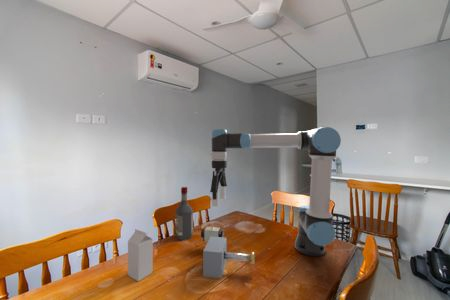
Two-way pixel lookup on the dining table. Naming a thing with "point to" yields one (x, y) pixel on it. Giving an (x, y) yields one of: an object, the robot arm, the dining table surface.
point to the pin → (240, 256)
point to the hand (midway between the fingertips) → (219, 202)
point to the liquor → (184, 218)
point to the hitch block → (214, 257)
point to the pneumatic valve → (211, 233)
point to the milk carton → (140, 255)
